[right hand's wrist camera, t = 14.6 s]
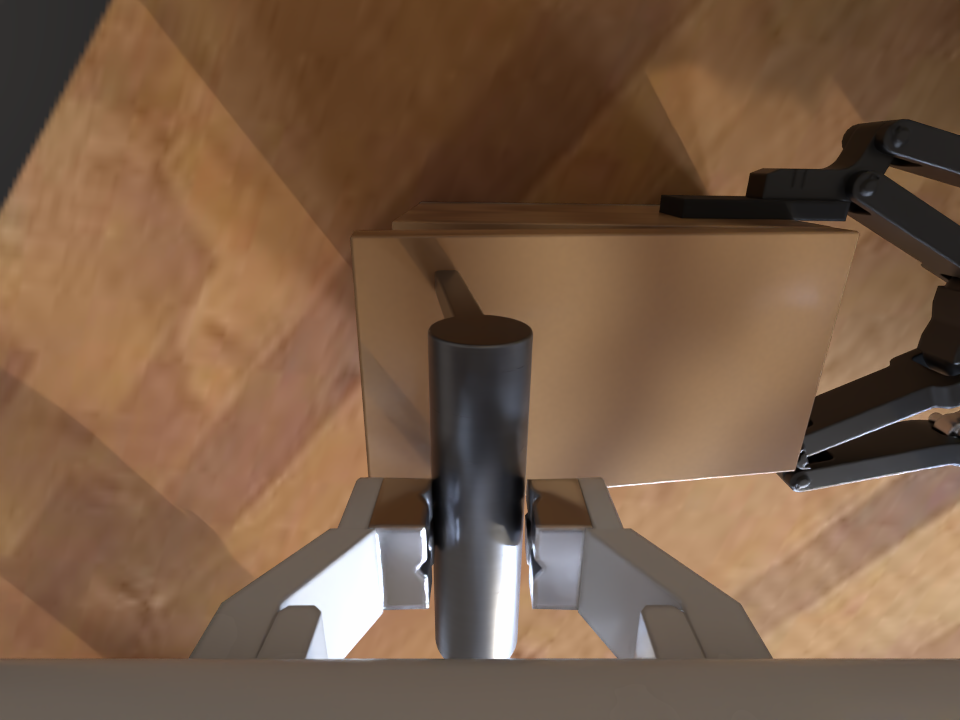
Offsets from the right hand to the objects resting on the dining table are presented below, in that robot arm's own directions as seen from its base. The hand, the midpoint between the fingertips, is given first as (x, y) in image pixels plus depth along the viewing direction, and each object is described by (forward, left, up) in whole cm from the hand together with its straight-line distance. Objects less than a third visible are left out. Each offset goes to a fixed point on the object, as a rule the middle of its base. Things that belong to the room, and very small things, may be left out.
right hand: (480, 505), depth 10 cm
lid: (-2, -4, -8) cm, 9 cm away
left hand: (-3, -7, -14) cm, 16 cm away
